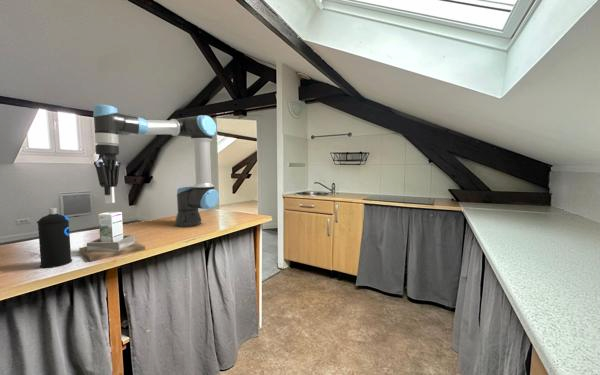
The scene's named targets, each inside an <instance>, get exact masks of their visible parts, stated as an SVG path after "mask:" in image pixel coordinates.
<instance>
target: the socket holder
mask: <svg viewBox="0 0 600 375" xmlns="http://www.w3.org/2000/svg"><path fill="white" fill-rule="evenodd" d="M135 235H136V234H123V239H122V240H120V241H118V242H100V237H99V238H96V239H94V240H92V241H89V242H86V246H83V247H79V248H78V251H79V253H80V254H81V255H83V257H84V258H86V259H87V260H88V261H89V262H90V263H91V262H96V261H100V260H104V259H109V258H114V257H117V256H123V255H127V254H133V253H135V252H136V253H137V252H141V251H144V250H146V246H145V245H144V244H142V243H141V242H140V243H139V242H138V241H136V239H135V238H136V237H135Z"/></svg>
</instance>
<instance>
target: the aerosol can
mask: <svg viewBox="0 0 600 375" xmlns="http://www.w3.org/2000/svg"><path fill="white" fill-rule="evenodd" d="M57 211H58V209H57V207H51V208H48V213H49V214H47V215H44V216H42V217H41V218H40V219H39V220H37V221H36V224H37V227H38V228H37V229H38V230H37V231H38V241H39V242H38V243H39V254H40V255H39V256H40V265H39V267H40V268H42V269H51V268H58V267H61V266H65V265H69V264H70V263H71V262H73V258H72V252H71V236H70V223H69V222H70V218H69V217H67V216H66V215H64V214H59V213H58V212H57Z"/></svg>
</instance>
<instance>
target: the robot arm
mask: <svg viewBox="0 0 600 375" xmlns="http://www.w3.org/2000/svg"><path fill="white" fill-rule="evenodd" d="M92 117H93V125H94V127H93V128H94V141H95V142H94V143H95V146H94V147H95V149H94V150H95V154H96V155H98V160H97V161H93V165H94V167H95V169H96V174H97V179H98V182H99V184H98V185H99V186H100V187H101V188H104V203H105V204H113V203H116V201H115V198H116V197H115V187H116V188H117V187H118V184H119V177H120V176H119V175H120V167H121V164H122V163H121V162H118V161H117V160H118V159H117V157H116V156H118V155H120V147H119V145H120V142H119V141H120V140H119V136H135V135H136V136H139V135H140V136H141V135H144V136H145V135H152V136H153V135H170V136H173V137H185V138H186V137H187V138H190V140H191V141H192V142H193V146H194V149H193V150H194V170H195V172H194V173H195V184H194V185H193V186H185V187H184V186H183V187H178V188H177V190H176V191H177V192H176V202H177V214H176V217H175V219H174V226H177V227H193V225H194V226H198V225H201V224H202V223H201V222H203V221H202V217H201V215H200V212H199V209H203V210H210V209H211V210H212V209H213V208H215V207H216V205H218V202H219V199H220V195H219V192H218V190H216V189H215V185H214V184H213V182H212V165H211V164H212V162H211V143H212V141H213V137H214V136H215V135H216V133H217V124H216V122H215V120H213V118H212V117H211V116H209V115H204V114H203V115H202V114H201V115H194V116H186V117H182V118H171V119H169V120H166V119H165V120H162V119H160V120H159V119H158V120H157V119H145V118H142V117H140V116H134V115H129V114H123V113H119V112H118V108H117V107H116V106H113V105H109V104H95V105H94V107H93V115H92ZM200 223H201V224H200ZM197 224H198V225H197Z"/></svg>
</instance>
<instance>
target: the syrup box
mask: <svg viewBox="0 0 600 375" xmlns="http://www.w3.org/2000/svg"><path fill="white" fill-rule="evenodd" d="M98 226H99V238H100V242H118V241H120V240H122V239H123V235H124V227H123V226H124V225H123V212H122V211H106V212H102V213H98Z"/></svg>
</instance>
